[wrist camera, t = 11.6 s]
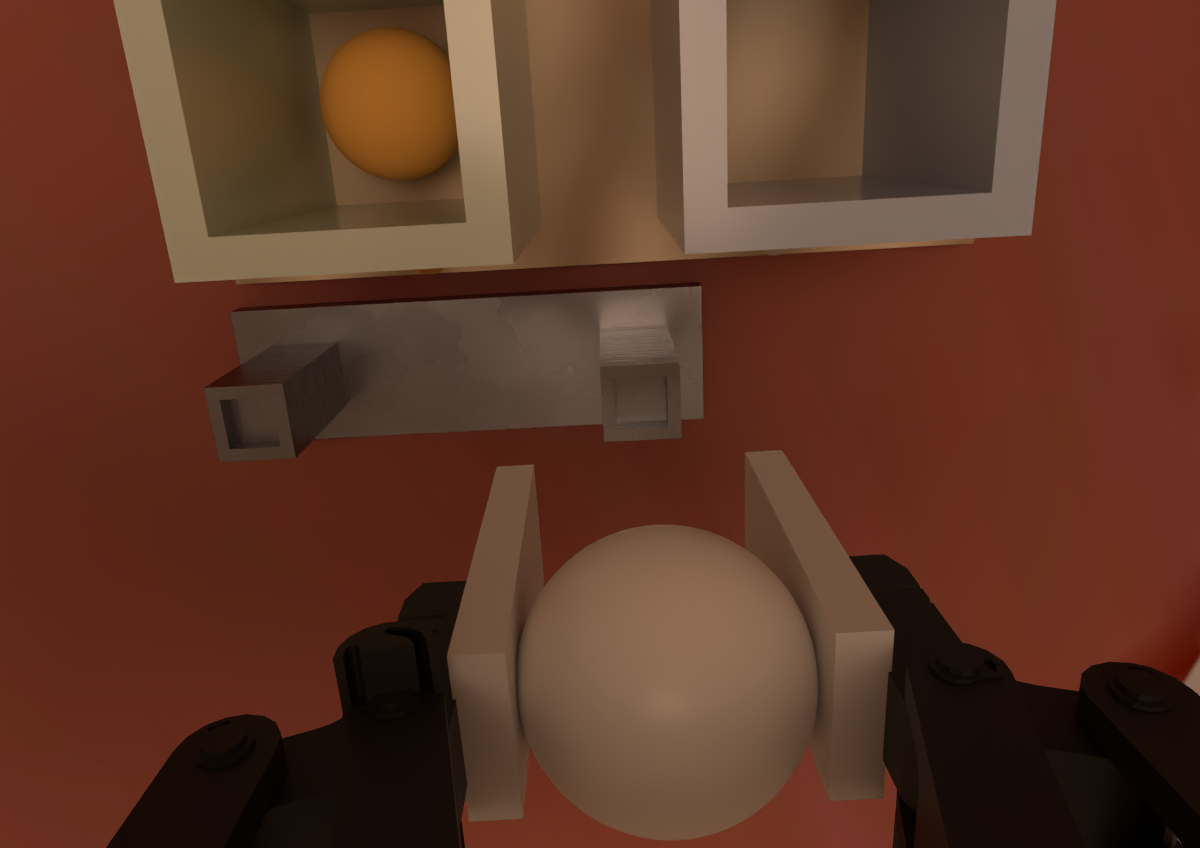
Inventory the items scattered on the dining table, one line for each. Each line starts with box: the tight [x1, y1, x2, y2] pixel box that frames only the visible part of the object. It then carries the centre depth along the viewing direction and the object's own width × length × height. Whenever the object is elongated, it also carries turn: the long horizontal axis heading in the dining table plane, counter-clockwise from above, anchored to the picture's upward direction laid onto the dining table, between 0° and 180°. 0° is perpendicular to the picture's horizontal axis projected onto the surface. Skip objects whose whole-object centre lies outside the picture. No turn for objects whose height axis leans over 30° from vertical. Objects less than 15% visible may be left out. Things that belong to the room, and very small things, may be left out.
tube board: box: [235, 0, 974, 285], centre depth 28 cm, size 26×11×1 cm, turn 93°
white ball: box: [517, 525, 819, 840], centre depth 12 cm, size 4×4×4 cm
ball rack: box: [204, 282, 704, 462], centre depth 29 cm, size 17×5×6 cm, turn 93°
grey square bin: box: [650, 0, 1056, 254], centre depth 23 cm, size 8×8×10 cm
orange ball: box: [320, 27, 458, 180], centre depth 26 cm, size 4×4×4 cm
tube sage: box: [113, 0, 542, 283], centre depth 23 cm, size 8×8×10 cm
